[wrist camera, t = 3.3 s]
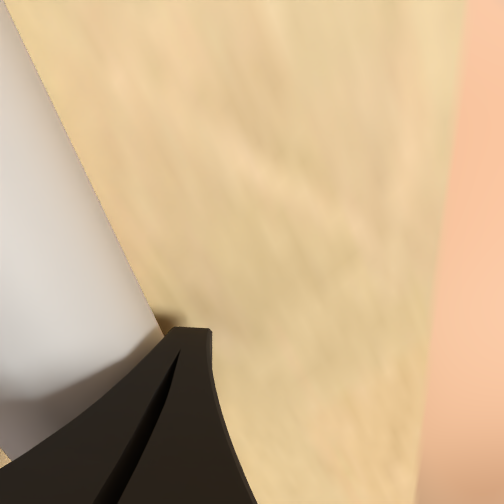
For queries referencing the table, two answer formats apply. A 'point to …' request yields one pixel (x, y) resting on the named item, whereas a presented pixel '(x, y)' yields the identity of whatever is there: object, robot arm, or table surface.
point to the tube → (55, 269)
